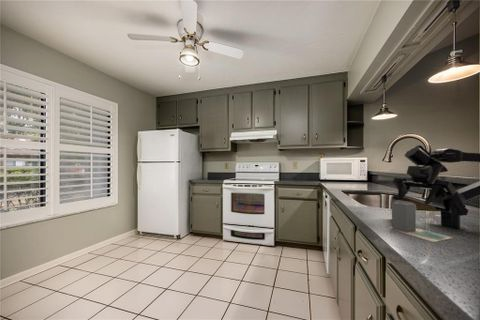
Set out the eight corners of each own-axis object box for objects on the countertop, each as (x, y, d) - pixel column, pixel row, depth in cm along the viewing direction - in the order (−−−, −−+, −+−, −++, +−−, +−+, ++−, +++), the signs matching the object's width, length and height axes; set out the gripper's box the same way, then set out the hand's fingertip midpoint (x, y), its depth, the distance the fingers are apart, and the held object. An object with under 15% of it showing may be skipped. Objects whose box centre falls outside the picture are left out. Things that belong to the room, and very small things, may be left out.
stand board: (404, 227, 82) (404, 215, 82) (453, 240, 68) (453, 225, 68) (385, 230, 79) (385, 217, 79) (433, 244, 64) (433, 229, 65)
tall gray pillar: (400, 227, 79) (400, 201, 80) (415, 231, 75) (415, 204, 75) (392, 228, 78) (392, 202, 78) (407, 232, 73) (406, 205, 73)
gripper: (394, 159, 89) (377, 185, 85) (450, 158, 72) (431, 190, 68) (406, 176, 92) (390, 202, 88) (463, 180, 74) (445, 212, 70)
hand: (411, 201), depth 78 cm, fingers open, 9 cm apart
